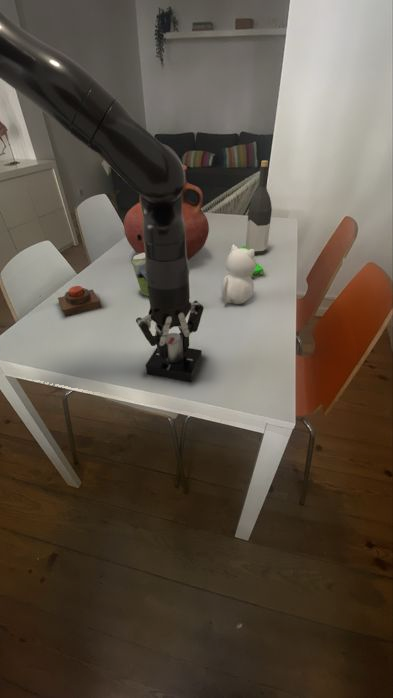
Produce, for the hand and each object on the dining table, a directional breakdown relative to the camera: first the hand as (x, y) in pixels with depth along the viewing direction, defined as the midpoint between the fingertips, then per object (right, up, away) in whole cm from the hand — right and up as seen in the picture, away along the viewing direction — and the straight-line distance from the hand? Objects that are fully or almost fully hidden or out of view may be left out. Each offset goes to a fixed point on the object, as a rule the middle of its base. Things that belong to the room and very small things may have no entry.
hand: (173, 352), depth 67 cm
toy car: (+22, +27, +40) cm, 53 cm away
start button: (-29, +16, +22) cm, 39 cm away
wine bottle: (+28, +38, +54) cm, 72 cm away
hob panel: (0, -3, +2) cm, 4 cm away
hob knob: (0, -1, +1) cm, 1 cm away
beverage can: (-10, +18, +29) cm, 36 cm away
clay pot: (-5, +35, +51) cm, 62 cm away
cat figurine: (+16, +15, +25) cm, 33 cm away
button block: (-29, +13, +24) cm, 40 cm away
